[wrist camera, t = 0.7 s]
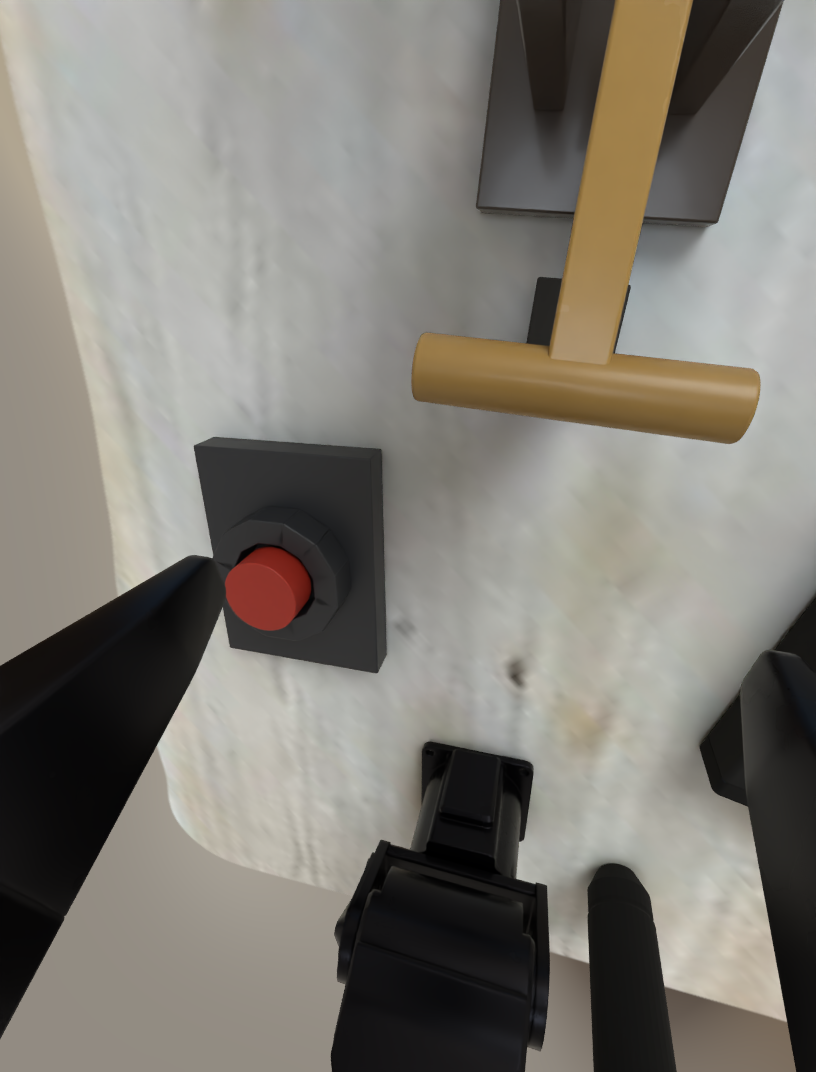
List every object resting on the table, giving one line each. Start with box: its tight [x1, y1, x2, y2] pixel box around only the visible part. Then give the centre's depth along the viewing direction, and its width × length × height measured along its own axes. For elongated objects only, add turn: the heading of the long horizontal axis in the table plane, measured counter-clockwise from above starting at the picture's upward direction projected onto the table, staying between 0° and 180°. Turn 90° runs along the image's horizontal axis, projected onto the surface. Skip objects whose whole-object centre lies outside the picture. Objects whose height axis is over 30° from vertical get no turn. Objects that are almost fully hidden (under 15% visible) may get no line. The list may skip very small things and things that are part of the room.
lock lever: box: [411, 0, 760, 444], centre depth 8 cm, size 11×6×2 cm, turn 175°
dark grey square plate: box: [194, 437, 387, 673], centre depth 27 cm, size 12×9×4 cm
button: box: [225, 547, 311, 631], centre depth 25 cm, size 4×4×2 cm
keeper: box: [526, 277, 631, 353], centre depth 17 cm, size 3×2×7 cm
